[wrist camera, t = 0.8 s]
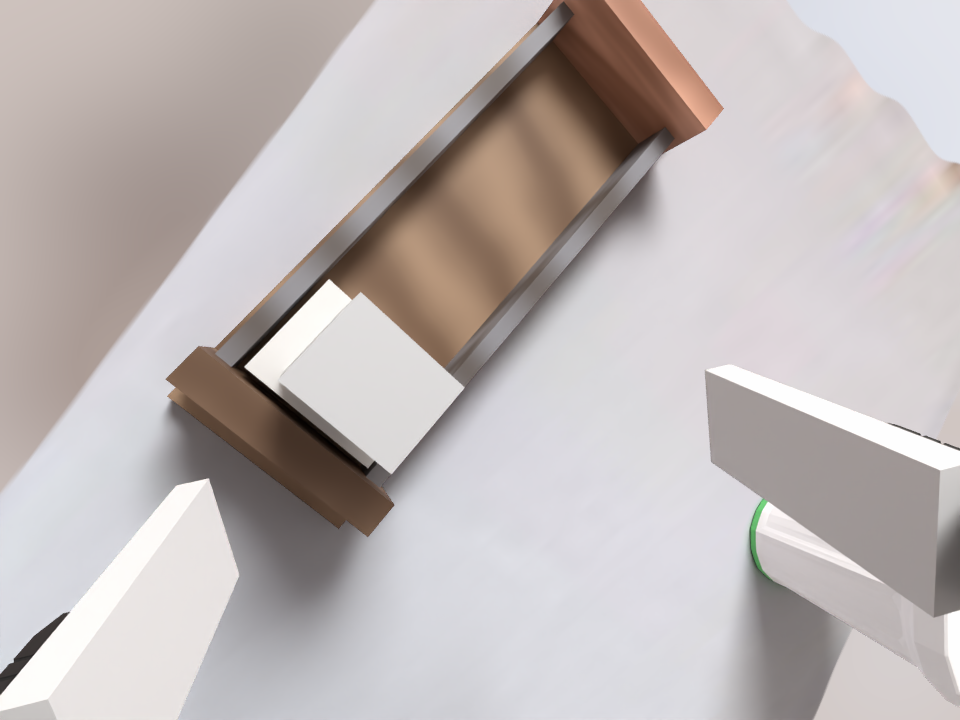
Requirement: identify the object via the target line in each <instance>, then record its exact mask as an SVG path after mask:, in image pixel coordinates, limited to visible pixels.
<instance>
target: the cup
mask: <svg viewBox="0 0 960 720" xmlns="http://www.w3.org/2000/svg"><path fill="white" fill-rule="evenodd" d="M751 550H752V554H753V557H754V560H755V563H756V565H757V567H758V569H759V570H760V571H761V572H762V573H763V574H764V575H765V576H766V577H767V578H768V579H770V580H772V581H774V582H776V583H778V584H780V585H783V586H785V587H787V588H789V589H790V590H792V591H794V592H795V593H797V594H798V595H800V596H802V597H803V598H805V599H807V600H808V601H810V602H812V603H813V604H815V605H816V606H818V607H820V608H821V609H823V610H825V611H826V612H828V613H830V614H831V615H833V616H834V617H836V618H838V619H839V620H841V621H843V622H844V623H846V624H848V625H849V626H851V627H852V628H854V629H856V630H857V631H859V632H861V633H862V634H864V635H866V636H867V637H869V638H870V639H872V640H874V641H875V642H877V643H879V644H880V645H882V646H884V647H885V648H887V649H888V650H890V651H892V652H893V653H895V654H897V655H898V656H900V657H902V658H903V659H905V660H906V661H908V662H910V663H911V664H913V665H915V666H916V667H918V668H919V670H920V671H921V672H922V673H923V675H924V676H925V678H926V679H927V680H928V681H929V682H930V683H931V684H932V685H933V686H934V687H935V688H936V689H937V691H938V692H939V693H940V694H941V695H942V696H943V697H944V698H945V699H946V700H947V701H949V702H951V703H952V704H954V705H956V706H958V707H960V610H959V611H955V612H952V613H949V614H945V615H942V616H938V617H935V618H933V617H932V616H930V615H929V614H927V613H926V612H925V611H923V610H922V609H920V608H919V607H917V606H916V605H915V604H913V603H912V602H910V601H909V600H907V599H906V598H905V597H903V596H902V595H900V594H899V593H897V592H896V591H895V590H893V589H892V588H890V587H889V586H887V585H886V584H885V583H883V582H882V581H880V580H879V579H877V578H876V577H875V576H873V575H872V574H870V573H869V572H867V571H866V570H865V569H863V568H862V567H860V566H859V565H858V564H856V563H855V562H853V561H852V560H850V559H849V558H848V557H846V556H845V555H843V554H842V553H840V552H839V551H838V550H836V549H835V548H833V547H832V546H830V545H829V544H828V543H826V542H825V541H823V540H822V539H820V538H819V537H818V536H816V535H815V534H813V533H812V532H810V531H809V530H808V529H806V528H805V527H803V526H802V525H800V524H799V523H798V522H796V521H795V520H793V519H792V518H790V517H789V516H788V515H786V514H785V513H783V512H782V511H780V510H779V509H778V508H776V507H775V506H773V505H772V504H770V503H769V502H768V501H766V500H765V499H763V500H762V502H761V503H760V505H759V507H758V508H757V510H756V513H755V515H754V518H753V522H752V525H751Z"/></svg>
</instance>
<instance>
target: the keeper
mask: <svg viewBox="0 0 960 720" xmlns="http://www.w3.org/2000/svg"><path fill="white" fill-rule="evenodd" d="M245 368H246V369H247V370H249V371H250V372H251V373H252V374H253V375H255V376H256V377H257V378H258V379H259V380H261V381H262V382H263V383H264V384H266V385H267V386H268V387H269V388H270V389H272V390H273V391H274V392H275V393H277V394H278V395H279V396H280V397H281V398H283V399H284V400H285V401H286V402H288V403H289V404H290V405H291V406H292V407H294V408H295V409H296V410H297V411H298V412H300V413H301V414H302V415H303V416H305V417H306V418H307V419H308V420H309V421H311V422H312V423H313V424H314V425H316V426H317V427H318V428H319V429H320V430H322V431H323V432H324V433H325V434H327V435H328V436H329V437H330V438H331V439H333V440H334V441H335V442H336V443H338V444H339V445H340V446H341V447H342V448H344V449H345V450H346V451H347V452H348V453H350V454H351V455H352V456H353V457H355V458H356V459H357V460H358V461H359V462H361V463H362V464H363V465H364V466H366V467H367V468H369V466H370V465H371V464H372V463H373V462H374V461H376V462H377V463H378V464H379V465H381V466H382V467H383V468H384V469H385V470H387V471H388V472H389V473H390V474H391V475H392V473H393V472H394V471H395V470H396V469H397V467H398V466H399V465H400V464H401V463H402V461H403V460H404V459H405V458H406V457H407V456H408V454H409V453H410V452H411V451H412V450H413V448H414V447H415V446H416V445H417V444H418V443H419V441H420V440H421V439H422V438H423V437H424V435H425V434H426V433H427V432H428V431H429V430H430V428H431V427H432V426H433V425H434V424H435V422H436V421H437V420H438V419H439V418H440V416H441V415H442V414H443V413H444V412H445V411H446V409H447V408H448V407H449V406H450V405H451V403H452V402H453V401H454V400H455V399H456V398H457V396H458V395H459V394H460V393H461V392H462V390H463V389H464V388H465V387H463V386H462V385H461V384H460V383H459V382H458V381H457V380H456V379H455V378H454V377H453V376H452V375H450V374H449V373H448V372H447V371H446V370H445V369H444V368H443V367H442V366H441V365H440V364H438V363H437V362H436V361H435V360H434V359H433V358H432V357H431V356H430V355H429V354H428V353H427V352H425V351H424V350H423V349H422V348H421V347H420V346H419V345H418V344H417V343H416V342H415V341H413V340H412V339H411V338H410V337H409V336H408V335H407V334H406V333H405V332H404V331H403V330H402V329H400V328H399V327H398V326H397V325H396V324H395V323H394V322H393V321H392V320H391V319H390V318H388V317H387V316H386V315H385V314H384V313H383V312H382V311H381V310H380V309H379V308H378V307H377V306H375V305H374V304H373V303H372V302H371V301H370V300H369V299H368V298H367V297H366V296H365V295H363V294H362V293H361V292H360V293H359V294H358V295H357V296H356V297H355V298H354V299H353V300H351V299H350V298H349V297H348V296H347V295H346V294H345V293H344V292H343V291H342V290H340V289H339V288H338V287H337V286H336V285H335V284H334V283H333V282H332V281H331V280H330V279H329V280H328V281H327V282H326V283H325V284H324V285H323V286H322V287H321V288H320V289H319V290H318V291H317V292H316V293H315V294H314V295H313V296H312V297H311V298H310V299H309V300H308V301H307V302H306V304H305V305H304V306H303V307H302V308H301V309H300V310H299V311H298V312H297V313H296V314H295V315H294V316H293V317H292V318H291V319H290V320H289V321H288V322H287V323H286V324H285V325H284V326H283V327H282V328H281V329H280V330H279V331H278V332H277V334H276V335H275V336H274V337H273V338H272V339H271V340H270V341H269V342H268V343H267V344H266V345H265V346H264V347H263V348H262V349H261V350H260V351H259V352H258V353H257V354H256V355H255V356H254V357H253V358H252V359H251V360H250V361H249V363H248V364H247V365H246V366H245Z"/></svg>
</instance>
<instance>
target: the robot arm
mask: <svg viewBox="0 0 960 720" xmlns="http://www.w3.org/2000/svg"><path fill="white" fill-rule="evenodd" d="M705 381H706V396H707V410H708V425H709V439H710V454H711V462H712V463H713V464H715V465H716V466H718V467H719V468H721V469H722V470H723V471H725V472H726V473H728V474H729V475H731V476H732V477H733V478H735V479H736V480H738V481H739V482H741V483H742V484H743V485H745V486H746V487H748V488H749V489H751V490H752V491H753V492H755V493H756V494H758V495H759V496H760V497H762V498H763V499H765V500H766V501H768V502H769V503H770V504H772V505H773V506H775V507H776V508H778V509H779V510H780V511H782V512H783V513H785V514H786V515H788V516H789V517H790V518H792V519H793V520H795V521H796V522H798V523H799V524H800V525H802V526H803V527H805V528H806V529H808V530H809V531H810V532H812V533H813V534H815V535H816V536H818V537H819V538H820V539H822V540H823V541H825V542H826V543H828V544H829V545H830V546H832V547H833V548H835V549H836V550H838V551H839V552H840V553H842V554H843V555H845V556H846V557H848V558H849V559H850V560H852V561H853V562H855V563H856V564H858V565H859V566H860V567H862V568H863V569H865V570H866V571H867V572H869V573H870V574H872V575H873V576H875V577H876V578H877V579H879V580H880V581H882V582H883V583H885V584H886V585H887V586H889V587H890V588H892V589H893V590H895V591H896V592H897V593H899V594H900V595H902V596H903V597H905V598H906V599H907V600H909V601H910V602H912V603H913V604H915V605H916V606H917V607H919V608H920V609H922V610H923V611H925V612H926V613H927V614H929V615H930V616H932V617H933V618H935V617H938V616H942V615H945V614H949V613H952V612H955V611H959V610H960V448H957V447H954V446H951V445H949V444H946V443H944V444H941V442H940V441H938V440H936V439H933V438H930V437H928V436H921V434H920V433H917V432H914V431H912V430H909V429H906V428H904V427H901V426H898V425H895V424H890V423H885V422H882V421H879V420H876V419H874V418H871V417H868V416H866V415H863V414H861V413H858V412H855V411H853V410H850V409H847V408H845V407H842V406H839V405H837V404H834V403H831V402H829V401H826V400H823V399H821V398H818V397H816V396H813V395H810V394H808V393H805V392H802V391H800V390H797V389H794V388H792V387H789V386H786V385H784V384H781V383H778V382H776V381H773V380H771V379H768V378H765V377H763V376H760V375H757V374H755V373H752V372H749V371H747V370H744V369H741V368H739V367H736V366H733V365H731V364H730V365H725V366H721V367H716V368H712V369H707V370H705ZM239 576H240V575H239V572H238V568H237V565H236V562H235V559H234V556H233V553H232V550H231V547H230V543H229V540H228V537H227V534H226V531H225V528H224V525H223V521H222V518H221V515H220V512H219V509H218V506H217V503H216V499H215V496H214V493H213V490H212V487H211V484H210V481H209V478H208V479H204V480H199V481H195V482H190V483H185V484H181V485H176V486H175V488H174V489H173V490H172V491H171V492H170V494H169V495H168V496H167V497H166V498H165V500H164V501H163V502H162V503H161V504H160V505H159V507H158V508H157V509H156V510H155V511H154V513H153V514H152V515H151V516H150V517H149V519H148V520H147V521H146V522H145V523H144V525H143V526H142V527H141V528H140V529H139V531H138V532H137V533H136V534H135V535H134V537H133V538H132V539H131V540H130V541H129V542H128V544H127V545H126V546H125V547H124V548H123V550H122V551H121V552H120V553H119V554H118V556H117V557H116V558H115V559H114V560H113V562H112V563H111V564H110V565H109V566H108V568H107V569H106V570H105V571H104V572H103V574H102V575H101V576H100V577H99V578H98V579H97V581H96V582H95V583H94V584H93V585H92V587H91V588H90V589H89V590H88V591H87V593H86V594H85V595H84V596H83V597H82V599H81V600H80V601H79V602H78V603H77V605H76V606H75V607H74V608H73V609H72V610H71V612H68V613H63V614H62V615H61V616H59V617H58V618H57V619H55V620H54V621H53V622H52V623H50V624H49V625H48V626H46V627H45V628H44V629H42V630H41V631H40V632H39V633H37V634H36V635H35V636H34V637H33V638H32V639H31V640H30V641H29V642H28V643H27V645H26V646H25V647H24V648H23V649H22V650H21V651H20V653H19V654H18V655H17V656H16V657H15V658H14V663H11V664H9V665H8V666H7V667H6V668H5V670H4V671H3V672H2V673H1V674H0V720H177V719H178V717H179V715H180V712H181V710H182V708H183V705H184V703H185V701H186V698H187V696H188V694H189V691H190V689H191V687H192V684H193V682H194V680H195V678H196V675H197V673H198V671H199V668H200V666H201V664H202V661H203V659H204V657H205V654H206V652H207V650H208V647H209V645H210V643H211V640H212V638H213V636H214V633H215V631H216V629H217V627H218V624H219V622H220V620H221V617H222V615H223V613H224V610H225V608H226V606H227V603H228V601H229V599H230V596H231V594H232V592H233V589H234V587H235V585H236V582H237V580H238V578H239Z"/></svg>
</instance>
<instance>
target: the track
mask: <svg viewBox="0 0 960 720" xmlns="http://www.w3.org/2000/svg"><path fill="white" fill-rule="evenodd" d="M723 109H724V108H723V107H722V106H721V104H720V103H719V102H718V100H717V99H716V98H715V96H714V95H713V94H712V93H711V91H710V90H709V89H708V87H707V86H706V85H705V83H704V82H703V81H702V80H701V78H700V77H699V76H698V74H697V73H696V72H695V70H694V69H693V68H692V67H691V65H690V64H689V63H688V61H687V60H686V59H685V57H684V56H683V55H682V53H681V52H680V51H679V50H678V48H677V47H676V46H675V44H674V43H673V42H672V40H671V39H670V38H669V37H668V35H667V34H666V33H665V31H664V30H663V29H662V27H661V26H660V25H659V24H658V22H657V21H656V20H655V18H654V17H653V16H652V14H651V13H650V12H649V10H648V9H647V8H646V7H645V5H644V4H643V3H642V1H641V0H553V2H552V3H551V4H550V6H549V7H548V9H547V10H546V11H545V13H544V14H543V15H542V17H541V18H540V20H539V21H538V22H537V23H536V24H535V25H534V26H533V27H532V28H531V29H530V30H529V31H528V32H527V33H526V34H525V35H524V36H523V37H522V39H521V40H520V41H519V42H518V43H517V44H516V45H515V46H514V47H513V48H512V49H511V50H510V51H509V52H508V53H507V54H506V55H505V56H504V57H503V58H502V59H501V60H500V61H499V62H498V63H497V64H496V65H495V66H494V67H493V68H492V69H491V70H490V71H489V72H488V73H487V74H486V75H485V76H484V77H483V78H482V79H481V80H480V81H479V82H478V83H477V84H476V85H475V86H474V87H473V88H472V89H471V90H470V91H469V92H468V93H467V94H466V95H465V96H464V97H463V98H462V99H461V100H460V101H459V102H458V103H457V104H456V105H455V106H454V107H453V108H452V109H451V110H450V111H449V112H448V113H447V114H446V115H445V116H444V117H443V118H442V119H441V120H440V121H439V122H438V123H437V124H436V125H435V126H434V127H433V128H432V129H431V130H430V131H429V132H428V133H427V134H426V135H425V136H424V137H423V138H422V139H421V140H420V141H419V142H418V143H417V145H416V146H415V147H414V148H413V149H412V150H411V151H410V152H409V153H408V154H407V155H406V156H405V157H404V158H403V159H402V160H401V161H400V162H399V163H398V164H397V165H396V166H395V167H394V168H393V169H392V170H391V171H390V172H389V173H388V174H387V175H386V176H385V177H384V178H383V179H382V180H381V181H380V182H379V183H378V184H377V185H376V186H375V187H374V188H373V189H372V190H371V191H370V192H369V193H368V194H367V195H366V196H365V197H364V198H363V199H362V200H361V201H360V202H359V203H358V204H357V205H356V206H355V207H354V208H353V209H352V210H351V211H350V212H349V213H348V214H347V215H346V216H345V217H344V218H343V219H342V220H341V221H340V222H339V223H338V224H337V225H336V226H335V227H334V228H333V229H332V230H331V231H330V232H329V233H328V234H327V235H326V236H325V237H324V238H323V239H322V240H321V241H320V242H319V243H318V244H317V245H316V246H315V247H314V248H313V249H312V251H311V252H310V253H309V254H308V255H307V256H306V257H305V258H304V259H303V260H302V261H301V262H300V263H299V264H298V265H297V266H296V267H295V268H294V269H293V270H292V271H291V272H290V273H289V274H288V275H287V276H286V277H285V278H284V279H283V280H282V281H281V282H280V283H279V284H278V285H277V286H276V287H275V288H274V289H273V290H272V291H271V292H270V293H269V294H268V295H267V296H266V297H265V298H264V299H263V300H262V301H261V302H260V303H259V304H258V305H257V306H256V307H255V308H254V309H253V310H252V311H251V312H250V313H249V314H248V315H247V316H246V317H245V318H244V319H243V320H242V321H241V322H240V323H239V324H238V325H237V326H236V327H235V328H234V329H233V330H232V331H231V332H230V333H229V334H228V335H227V336H226V337H225V338H224V339H223V340H222V341H221V342H220V343H219V344H218V345H217V346H216V347H215V348H211V347H202V346H198V347H197V348H196V349H195V350H194V351H193V352H192V353H191V354H190V355H189V356H188V357H187V358H186V359H185V360H184V361H183V362H182V363H181V364H180V365H179V366H178V367H177V368H176V369H175V370H174V371H173V372H172V373H171V374H170V375H169V376H168V377H167V378H166V380H167V381H168V382H170V383H171V384H172V385H174V386H175V387H176V388H175V389H174V390H173V391H172V392H171V393H170V394H169V395H168V396H167V397H169V398H170V399H171V400H173V401H174V402H175V403H176V404H178V405H179V406H180V407H182V408H183V409H184V410H186V411H187V412H188V413H189V414H191V415H192V416H193V417H195V418H196V419H197V420H198V421H200V422H201V423H202V424H204V425H205V426H206V427H208V428H209V429H210V430H211V431H213V432H214V433H215V434H217V435H218V436H219V437H221V438H222V439H223V440H224V441H226V442H227V443H228V444H230V445H231V446H232V447H233V448H235V449H236V450H237V451H239V452H240V453H241V454H243V455H244V456H245V457H246V458H248V459H249V460H250V461H252V462H253V463H254V464H256V465H257V466H258V467H259V468H261V469H262V470H263V471H265V472H266V473H267V474H268V475H270V476H271V477H272V478H274V479H275V480H276V481H278V482H279V483H280V484H281V485H283V486H284V487H285V488H287V489H288V490H289V491H291V492H292V493H293V494H294V495H296V496H297V497H298V498H300V499H301V500H302V501H303V502H305V503H306V504H307V505H309V506H310V507H311V508H313V509H314V510H315V511H316V512H318V513H319V514H320V515H322V516H323V517H324V518H326V519H327V520H328V521H329V522H331V523H332V524H333V525H335V526H336V527H337V528H338V529H339V528H340V527H341V525H342V524H343V523H344V522H345V521H346V520H347V521H348V522H349V523H350V524H352V525H353V526H354V527H356V528H357V529H358V530H359V531H361V532H362V533H363V534H365V535H366V536H367V537H368V536H369V535H370V534H371V533H372V532H373V530H374V529H375V528H376V527H377V525H378V524H379V523H380V522H381V521H382V519H383V518H384V517H385V516H386V515H387V513H388V512H389V511H390V510H391V509H392V507H393V506H394V504H393V502H392V501H391V499H390V498H389V496H388V495H387V493H386V492H385V490H384V489H383V487H382V485H383V484H384V482H385V481H386V480H387V479H388V478H389V476H390V475H391V474H390V473H389V472H388V471H387V470H385V469H384V468H383V467H382V466H381V465H379V464H378V463H377V462H376V461H374V462H373V463H372V464H371V465H370V466H369V468H367V467H366V466H364V465H363V464H362V463H361V462H359V461H358V460H357V459H356V458H355V457H353V456H352V455H351V454H350V453H348V452H347V451H346V450H345V449H344V448H342V447H341V446H340V445H339V444H338V443H336V442H335V441H334V440H333V439H331V438H330V437H329V436H328V435H327V434H325V433H324V432H323V431H322V430H320V429H319V428H318V427H317V426H316V425H314V424H313V423H312V422H311V421H309V420H308V419H307V418H306V417H305V416H303V415H302V414H301V413H300V412H298V411H297V410H296V409H295V408H294V407H292V406H291V405H290V404H289V403H288V402H286V401H285V400H284V399H283V398H281V397H280V396H279V395H278V394H277V393H275V392H274V391H273V390H272V389H270V388H269V387H268V386H267V385H266V384H264V383H263V382H262V381H261V380H259V379H258V378H257V377H256V376H255V375H253V374H252V373H251V372H250V371H249V370H247V369H246V368H245V366H246V365H247V364H248V363H249V361H250V360H251V359H252V358H253V357H254V356H255V355H256V354H257V353H258V352H259V351H260V350H261V349H262V348H263V347H264V346H265V345H266V344H267V343H268V342H269V341H270V340H271V339H272V338H273V337H274V336H275V335H276V334H277V332H278V331H279V330H280V329H281V328H282V327H283V326H284V325H285V324H286V323H287V322H288V321H289V320H290V319H291V318H292V317H293V316H294V315H295V314H296V313H297V312H298V311H299V310H300V309H301V308H302V307H303V306H304V305H305V304H306V302H307V301H308V300H309V299H310V298H311V297H312V296H313V295H314V294H315V293H316V292H317V291H318V290H319V289H320V288H321V287H322V286H323V285H324V284H325V283H326V282H327V281H328V280H329V279H330V280H331V281H332V282H333V283H334V284H335V285H336V286H337V287H338V288H339V289H340V290H342V291H343V292H344V293H345V294H346V295H347V296H348V297H349V298H350V299H351V300H353V299H354V298H355V297H356V296H357V295H358V294H359V293H360V292H361V293H362V294H363V295H365V296H366V297H367V298H368V299H369V300H370V301H371V302H372V303H373V304H374V305H375V306H377V307H378V308H379V309H380V310H381V311H382V312H383V313H384V314H385V315H386V316H387V317H388V318H390V319H391V320H392V321H393V322H394V323H395V324H396V325H397V326H398V327H399V328H400V329H402V330H403V331H404V332H405V333H406V334H407V335H408V336H409V337H410V338H411V339H412V340H413V341H415V342H416V343H417V344H418V345H419V346H420V347H421V348H422V349H423V350H424V351H425V352H427V353H428V354H429V355H430V356H431V357H432V358H433V359H434V360H435V361H436V362H437V363H438V364H440V365H441V366H442V367H443V368H444V369H445V370H446V371H447V372H448V373H449V374H450V375H452V376H453V377H454V378H455V379H456V380H457V381H458V382H459V383H460V384H461V385H462V386H463V387H465V386H466V385H467V384H468V383H469V382H470V381H471V379H472V378H473V377H474V376H475V375H476V373H477V372H478V371H479V370H480V369H481V368H482V366H483V365H484V364H485V363H486V362H487V360H488V359H489V358H490V357H491V356H492V355H493V353H494V352H495V351H496V350H497V349H498V347H499V346H500V345H501V344H502V343H503V341H504V340H505V339H506V338H507V337H508V336H509V334H510V333H511V332H512V331H513V330H514V328H515V327H516V326H517V325H518V324H519V323H520V321H521V320H522V319H523V318H524V317H525V315H526V314H527V313H528V312H529V311H530V310H531V308H532V307H533V306H534V305H535V304H536V302H537V301H538V300H539V299H540V298H541V297H542V295H543V294H544V293H545V292H546V291H547V289H548V288H549V287H550V286H551V285H552V283H553V282H554V281H555V280H556V279H557V278H558V276H559V275H560V274H561V273H562V272H563V270H564V269H565V268H566V267H567V266H568V265H569V263H570V262H571V261H572V260H573V259H574V257H575V256H576V255H577V254H578V253H579V252H580V250H581V249H582V248H583V247H584V246H585V244H586V243H587V242H588V241H589V240H590V239H591V237H592V236H593V235H594V234H595V233H596V231H597V230H598V229H599V228H600V227H601V225H602V224H603V223H604V222H605V221H606V220H607V218H608V217H609V216H610V215H611V214H612V212H613V211H614V210H615V209H616V208H617V207H618V205H619V204H620V203H621V202H622V201H623V199H624V198H625V197H626V196H627V195H628V194H629V192H630V191H631V190H632V189H633V188H634V186H635V185H636V184H637V183H638V182H639V181H640V179H641V178H642V177H643V176H644V175H645V173H646V172H647V171H648V170H649V169H650V167H651V166H652V165H653V164H654V163H655V162H656V160H657V159H658V158H659V157H660V156H661V154H663V153H665V152H667V151H668V150H670V149H672V148H674V147H676V146H678V145H679V144H681V143H683V142H685V141H687V140H689V139H690V138H692V137H694V136H696V135H698V134H699V133H701V132H703V131H705V130H707V128H708V127H709V126H710V125H711V124H712V122H713V121H714V120H715V119H716V118H717V116H718V115H719V114H720V113H721V112H722V110H723Z"/></svg>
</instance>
